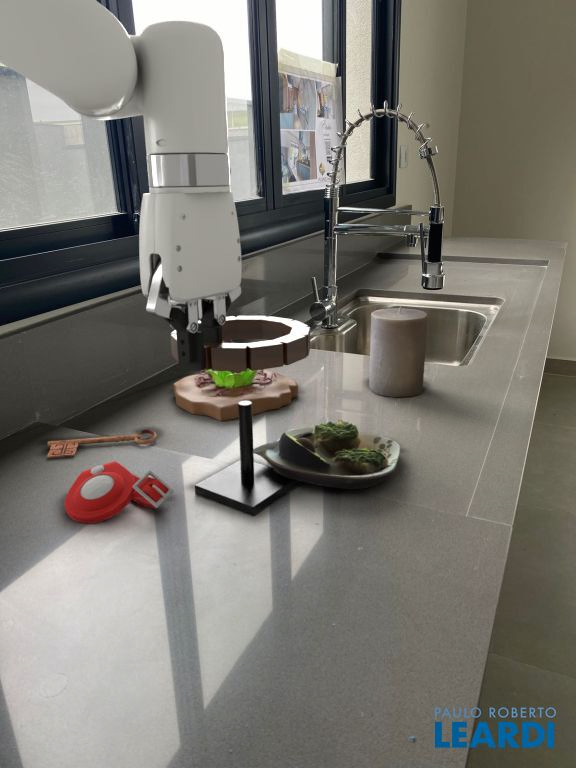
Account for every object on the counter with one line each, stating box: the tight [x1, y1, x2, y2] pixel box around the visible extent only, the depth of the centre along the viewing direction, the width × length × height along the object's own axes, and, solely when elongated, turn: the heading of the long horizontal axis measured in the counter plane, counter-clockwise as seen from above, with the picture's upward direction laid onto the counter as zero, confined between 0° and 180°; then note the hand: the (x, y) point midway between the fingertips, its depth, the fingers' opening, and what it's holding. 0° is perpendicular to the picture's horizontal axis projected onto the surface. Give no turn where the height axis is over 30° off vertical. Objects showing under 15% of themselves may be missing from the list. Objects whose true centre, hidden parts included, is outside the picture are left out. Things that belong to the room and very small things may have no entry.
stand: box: [194, 401, 300, 517], centre depth 71 cm, size 9×9×11 cm
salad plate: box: [253, 419, 401, 490], centre depth 80 cm, size 19×18×5 cm
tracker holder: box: [64, 461, 175, 524], centre depth 70 cm, size 12×4×10 cm
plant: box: [173, 339, 299, 422], centre depth 103 cm, size 20×20×11 cm
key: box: [46, 429, 157, 459], centre depth 85 cm, size 6×1×15 cm
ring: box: [170, 315, 311, 371], centre depth 67 cm, size 15×15×2 cm
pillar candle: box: [368, 305, 428, 398], centre depth 106 cm, size 10×10×15 cm
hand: (201, 363), depth 62 cm, fingers closed on ring, 2 cm apart
